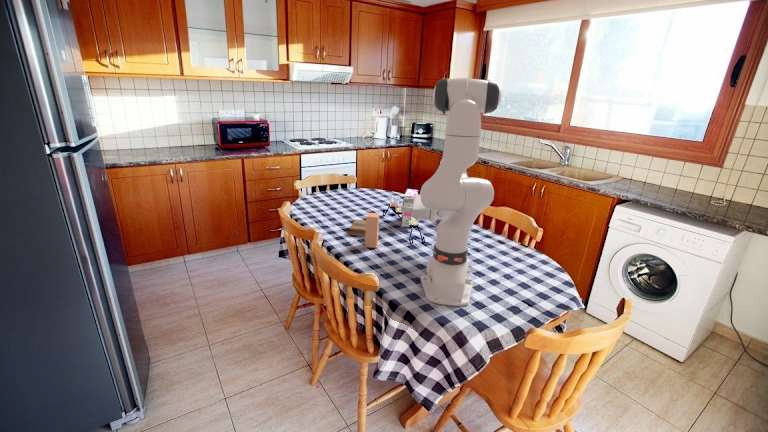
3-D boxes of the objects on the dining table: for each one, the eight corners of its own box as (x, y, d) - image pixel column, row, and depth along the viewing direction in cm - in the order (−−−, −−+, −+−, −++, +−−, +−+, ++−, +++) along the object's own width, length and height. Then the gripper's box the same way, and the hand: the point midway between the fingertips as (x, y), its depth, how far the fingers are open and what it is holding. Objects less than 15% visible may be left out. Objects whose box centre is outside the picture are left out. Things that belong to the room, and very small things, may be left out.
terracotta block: (376, 248, 163) (377, 217, 158) (364, 246, 163) (366, 216, 158) (378, 243, 167) (379, 213, 163) (366, 242, 168) (368, 212, 163)
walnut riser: (374, 237, 174) (375, 231, 173) (349, 234, 175) (349, 228, 174) (378, 228, 185) (378, 222, 184) (354, 225, 186) (354, 220, 185)
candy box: (412, 228, 187) (415, 196, 181) (400, 227, 188) (403, 195, 182) (415, 219, 200) (418, 189, 194) (404, 218, 201) (407, 188, 195)
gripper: (436, 192, 165) (404, 189, 166) (435, 208, 146) (400, 205, 147) (434, 206, 167) (403, 203, 168) (433, 223, 148) (399, 219, 150)
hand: (401, 204), depth 158 cm, fingers open, 8 cm apart
